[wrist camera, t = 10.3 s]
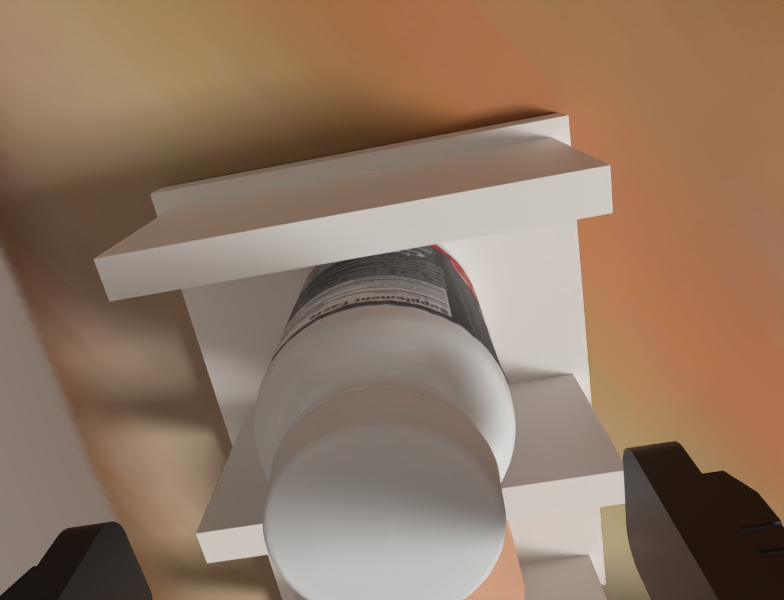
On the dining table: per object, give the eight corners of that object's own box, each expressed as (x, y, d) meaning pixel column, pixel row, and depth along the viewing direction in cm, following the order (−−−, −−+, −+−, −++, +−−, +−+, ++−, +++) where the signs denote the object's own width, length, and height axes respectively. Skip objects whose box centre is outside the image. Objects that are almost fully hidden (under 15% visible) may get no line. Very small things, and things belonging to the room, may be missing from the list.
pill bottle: (480, 379, 20) (550, 648, 11) (314, 392, 20) (245, 666, 11) (472, 214, 18) (550, 372, 9) (289, 231, 18) (180, 400, 9)
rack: (162, 187, 19) (62, 240, 13) (559, 112, 18) (633, 135, 12) (295, 605, 25) (266, 764, 19) (597, 564, 24) (659, 717, 18)
